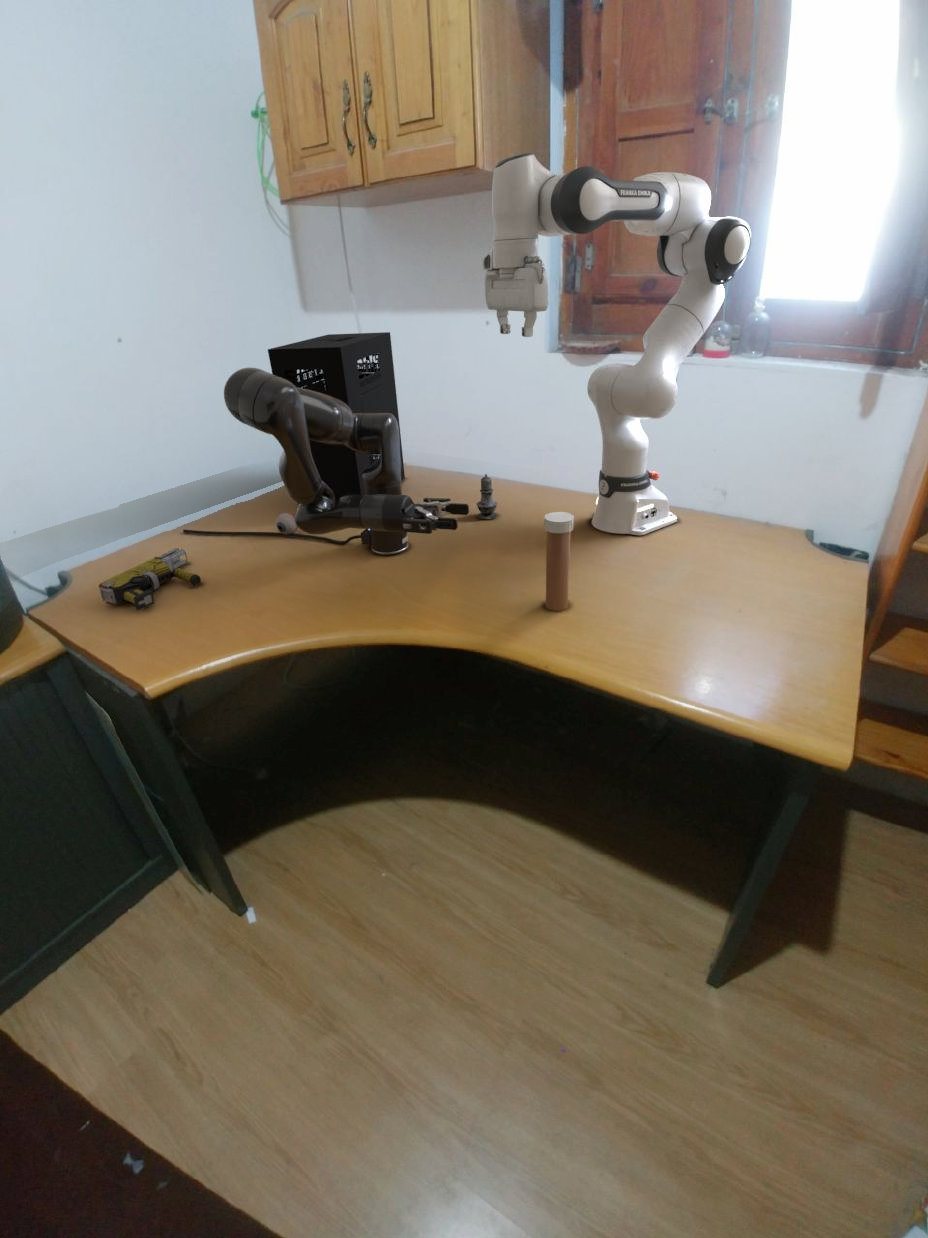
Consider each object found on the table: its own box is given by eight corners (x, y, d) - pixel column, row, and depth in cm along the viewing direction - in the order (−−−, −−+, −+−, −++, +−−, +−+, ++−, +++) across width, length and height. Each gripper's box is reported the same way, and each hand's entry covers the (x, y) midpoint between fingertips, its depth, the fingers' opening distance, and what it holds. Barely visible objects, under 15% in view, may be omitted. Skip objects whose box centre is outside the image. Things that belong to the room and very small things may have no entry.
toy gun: (224, 556, 146) (173, 545, 150) (148, 597, 126) (92, 584, 130) (226, 573, 148) (177, 563, 152) (152, 617, 128) (97, 603, 132)
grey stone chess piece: (496, 519, 166) (494, 477, 160) (475, 519, 167) (473, 476, 161) (499, 512, 171) (498, 470, 165) (478, 511, 172) (477, 470, 166)
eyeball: (273, 537, 164) (268, 516, 161) (287, 528, 169) (282, 508, 166) (291, 539, 161) (286, 518, 158) (305, 530, 166) (301, 510, 163)
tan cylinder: (566, 599, 125) (569, 514, 116) (569, 610, 121) (572, 522, 112) (544, 600, 125) (545, 515, 116) (546, 611, 121) (548, 523, 112)
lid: (571, 522, 117) (571, 510, 116) (575, 533, 112) (576, 521, 111) (542, 523, 117) (542, 512, 116) (545, 534, 112) (546, 522, 111)
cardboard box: (364, 517, 173) (340, 346, 151) (300, 515, 178) (267, 349, 155) (404, 478, 205) (390, 332, 182) (349, 476, 209) (328, 334, 187)
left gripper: (371, 506, 116) (452, 510, 112) (397, 484, 128) (471, 487, 124) (376, 542, 120) (454, 547, 116) (401, 518, 132) (472, 521, 128)
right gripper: (557, 254, 111) (556, 336, 118) (505, 258, 127) (506, 331, 134) (528, 255, 109) (527, 339, 116) (478, 260, 125) (481, 333, 132)
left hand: (463, 516), depth 120 cm, fingers open, 8 cm apart
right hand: (516, 335), depth 125 cm, fingers open, 8 cm apart
